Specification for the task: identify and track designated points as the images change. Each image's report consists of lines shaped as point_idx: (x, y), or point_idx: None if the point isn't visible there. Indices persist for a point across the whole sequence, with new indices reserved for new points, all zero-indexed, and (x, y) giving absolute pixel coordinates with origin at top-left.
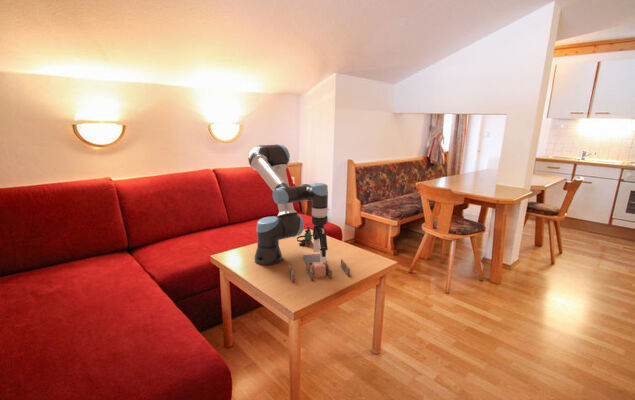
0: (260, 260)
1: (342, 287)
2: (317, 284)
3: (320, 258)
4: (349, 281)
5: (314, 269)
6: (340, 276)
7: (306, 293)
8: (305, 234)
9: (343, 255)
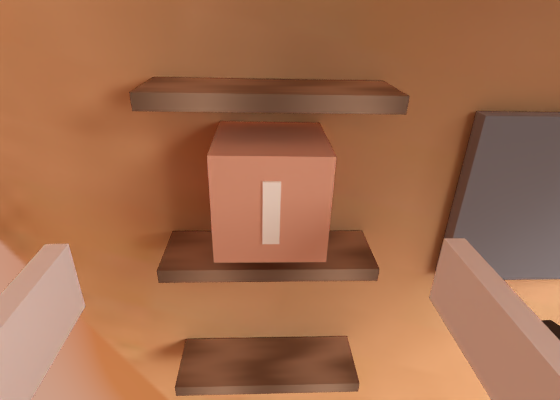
0: None
1: None
2: (82, 112)
3: (11, 287)
4: (121, 330)
5: (226, 143)
6: (200, 300)
7: None
8: None
9: None
